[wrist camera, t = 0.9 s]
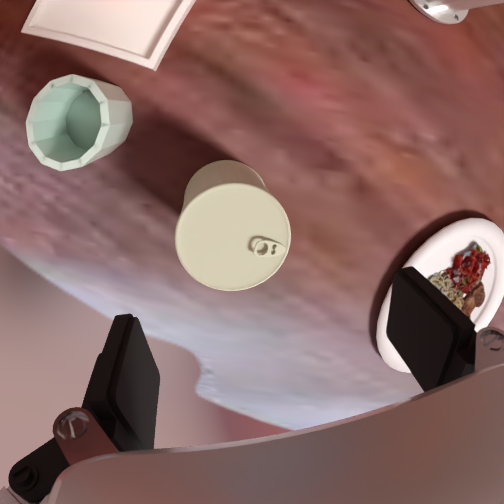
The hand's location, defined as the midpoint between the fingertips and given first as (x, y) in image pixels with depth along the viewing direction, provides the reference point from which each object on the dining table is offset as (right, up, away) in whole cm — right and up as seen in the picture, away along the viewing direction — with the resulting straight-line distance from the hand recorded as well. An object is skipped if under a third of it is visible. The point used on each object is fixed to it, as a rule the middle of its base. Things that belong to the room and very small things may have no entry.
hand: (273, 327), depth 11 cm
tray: (-15, +31, +12) cm, 37 cm away
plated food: (+32, -5, +36) cm, 49 cm away
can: (-4, +8, +25) cm, 26 cm away
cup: (-17, +17, +19) cm, 31 cm away
